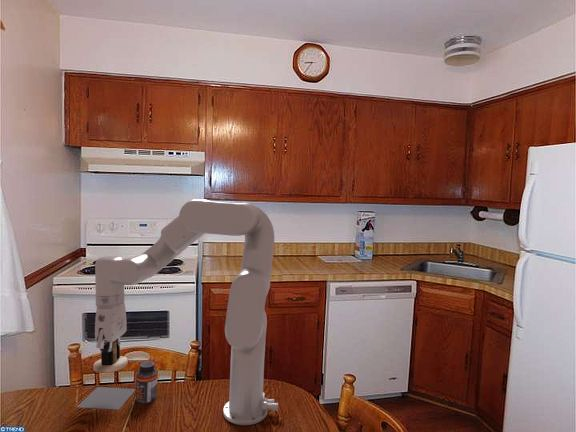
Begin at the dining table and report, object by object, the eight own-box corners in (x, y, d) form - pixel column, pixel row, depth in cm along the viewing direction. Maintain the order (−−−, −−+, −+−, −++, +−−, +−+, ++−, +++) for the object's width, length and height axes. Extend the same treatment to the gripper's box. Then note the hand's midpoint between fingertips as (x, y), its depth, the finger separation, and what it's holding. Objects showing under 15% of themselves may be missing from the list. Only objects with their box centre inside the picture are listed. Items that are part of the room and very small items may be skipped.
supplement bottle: (130, 403, 107) (131, 365, 107) (146, 393, 112) (147, 357, 112) (144, 409, 104) (145, 370, 104) (161, 399, 110) (162, 362, 109)
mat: (135, 392, 113) (136, 389, 113) (118, 413, 102) (118, 409, 102) (97, 390, 113) (97, 387, 113) (76, 410, 102) (76, 407, 102)
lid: (132, 359, 111) (132, 336, 111) (118, 373, 102) (118, 348, 102) (103, 358, 112) (103, 336, 111) (86, 372, 103) (86, 348, 102)
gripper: (108, 308, 98) (109, 375, 99) (135, 292, 114) (135, 350, 115) (80, 307, 98) (81, 374, 99) (111, 292, 114) (112, 349, 115)
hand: (110, 361), depth 107 cm, fingers closed on lid, 3 cm apart
